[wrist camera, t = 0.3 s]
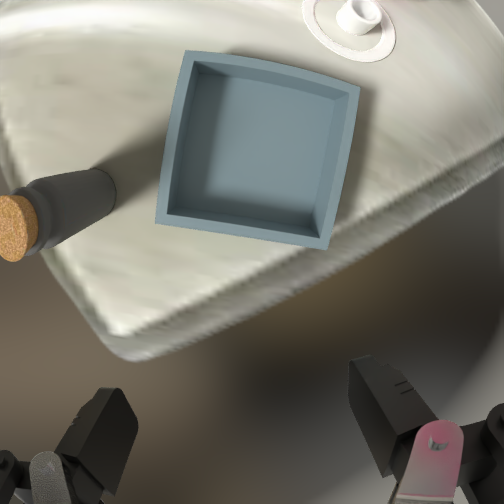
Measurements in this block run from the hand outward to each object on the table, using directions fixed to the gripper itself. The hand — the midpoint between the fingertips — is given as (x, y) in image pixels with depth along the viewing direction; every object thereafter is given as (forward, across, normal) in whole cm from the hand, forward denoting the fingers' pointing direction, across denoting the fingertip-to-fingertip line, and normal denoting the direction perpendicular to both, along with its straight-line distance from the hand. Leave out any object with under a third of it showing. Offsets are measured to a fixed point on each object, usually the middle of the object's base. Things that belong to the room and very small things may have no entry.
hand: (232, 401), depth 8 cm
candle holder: (+20, -17, -26) cm, 37 cm away
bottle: (+22, +15, -10) cm, 28 cm away
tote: (+21, -4, -11) cm, 24 cm away
